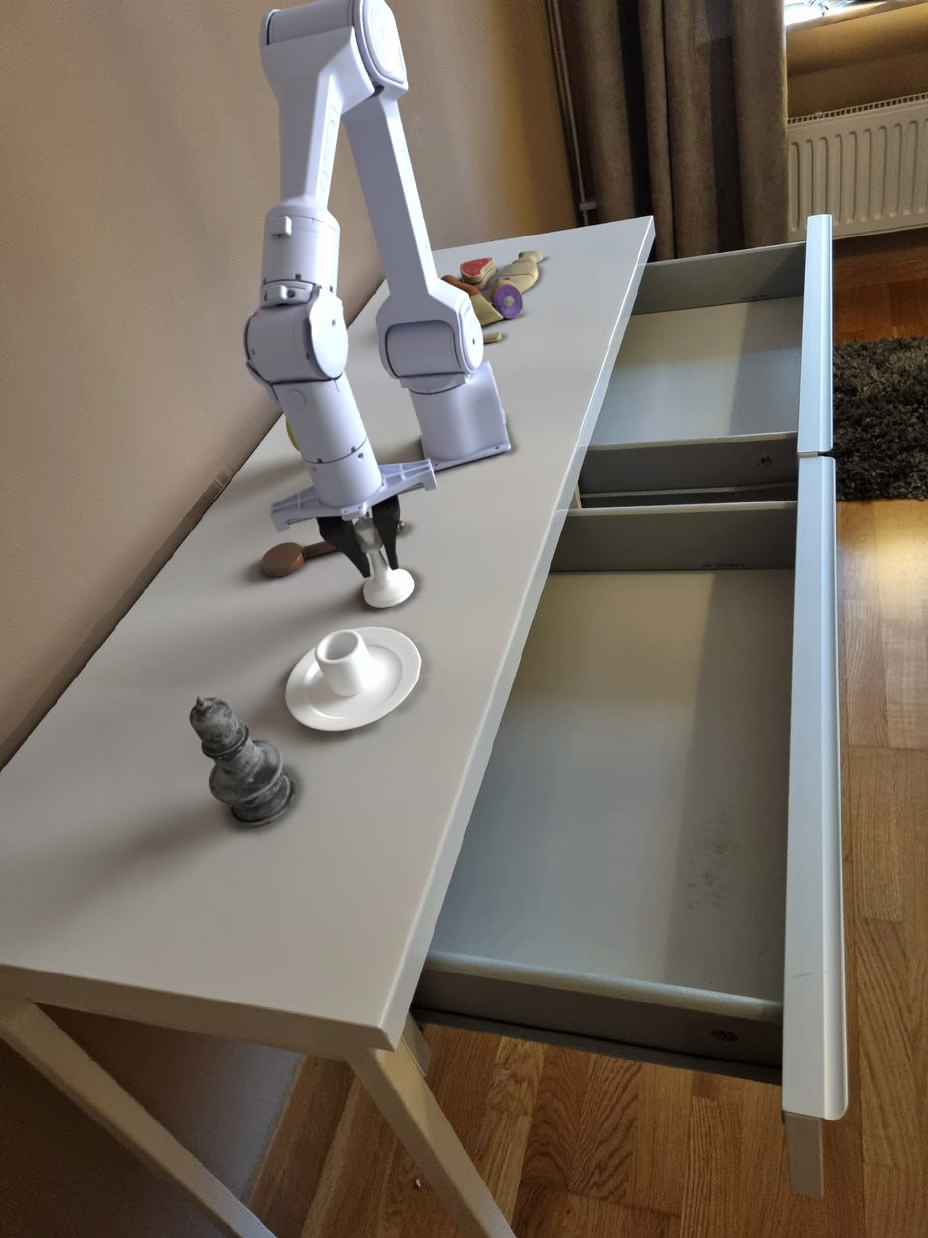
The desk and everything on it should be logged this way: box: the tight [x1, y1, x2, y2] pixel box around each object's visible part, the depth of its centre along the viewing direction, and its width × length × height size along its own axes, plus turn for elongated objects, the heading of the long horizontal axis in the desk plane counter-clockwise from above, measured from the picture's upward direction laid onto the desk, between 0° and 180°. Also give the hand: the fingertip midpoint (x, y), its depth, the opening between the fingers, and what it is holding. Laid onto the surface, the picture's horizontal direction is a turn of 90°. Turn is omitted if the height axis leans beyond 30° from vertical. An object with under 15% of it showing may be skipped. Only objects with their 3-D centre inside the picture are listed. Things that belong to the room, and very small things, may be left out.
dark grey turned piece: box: [188, 696, 296, 828], centre depth 65 cm, size 6×6×12 cm
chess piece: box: [353, 511, 415, 609], centre depth 81 cm, size 5×5×10 cm
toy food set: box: [440, 250, 544, 344], centre depth 127 cm, size 26×16×4 cm, turn 168°
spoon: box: [261, 519, 406, 578], centre depth 91 cm, size 15×4×1 cm, turn 98°
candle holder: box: [284, 626, 422, 732], centre depth 75 cm, size 12×12×4 cm
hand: (380, 567), depth 83 cm, fingers closed on chess piece, 2 cm apart
